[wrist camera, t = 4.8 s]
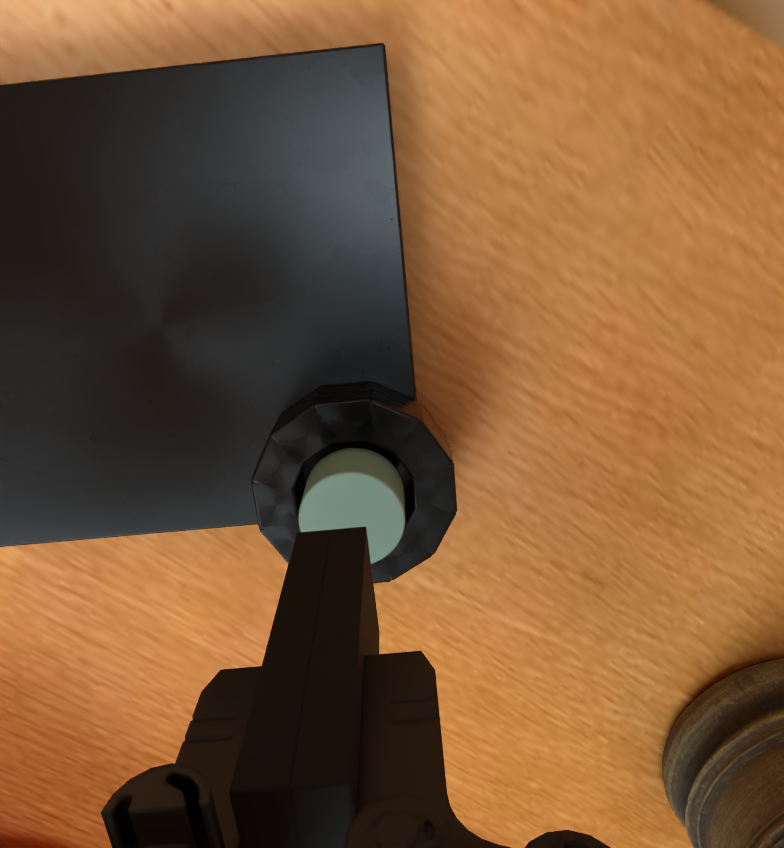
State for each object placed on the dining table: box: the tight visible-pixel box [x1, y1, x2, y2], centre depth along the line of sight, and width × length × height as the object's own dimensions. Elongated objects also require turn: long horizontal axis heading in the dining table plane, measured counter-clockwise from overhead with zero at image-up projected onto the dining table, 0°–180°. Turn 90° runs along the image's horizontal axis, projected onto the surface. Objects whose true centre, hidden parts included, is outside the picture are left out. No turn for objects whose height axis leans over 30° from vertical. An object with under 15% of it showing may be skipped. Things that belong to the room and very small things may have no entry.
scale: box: [0, 43, 457, 583], centre depth 19 cm, size 15×14×3 cm
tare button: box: [299, 448, 405, 564], centre depth 18 cm, size 3×3×2 cm
